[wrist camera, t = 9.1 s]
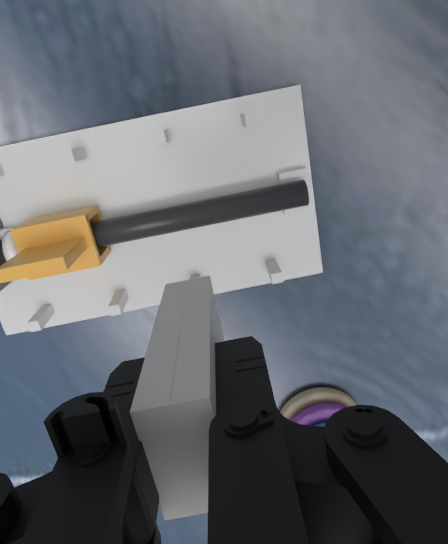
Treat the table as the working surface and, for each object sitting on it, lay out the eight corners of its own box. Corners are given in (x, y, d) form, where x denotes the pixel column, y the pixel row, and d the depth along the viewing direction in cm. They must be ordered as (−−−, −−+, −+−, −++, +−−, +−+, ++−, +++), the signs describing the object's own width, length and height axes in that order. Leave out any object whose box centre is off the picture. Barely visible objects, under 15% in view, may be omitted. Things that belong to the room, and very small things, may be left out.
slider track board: (296, 85, 30) (316, 78, 25) (319, 267, 35) (340, 293, 29) (-57, 158, 30) (-111, 166, 25) (12, 328, 35) (-21, 364, 30)
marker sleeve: (97, 204, 31) (63, 231, 23) (111, 251, 32) (83, 290, 24) (30, 218, 31) (-25, 249, 23) (46, 264, 32) (-1, 307, 24)
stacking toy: (257, 416, 39) (302, 654, 22) (326, 367, 38) (434, 579, 20) (306, 465, 42) (384, 717, 24) (373, 420, 40) (507, 653, 23)
